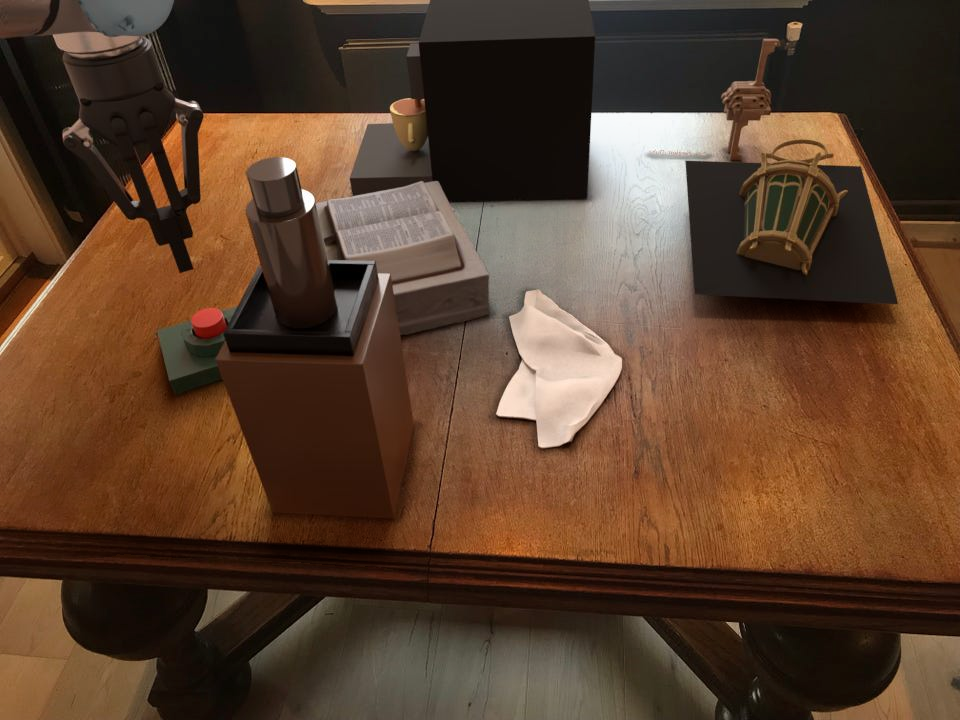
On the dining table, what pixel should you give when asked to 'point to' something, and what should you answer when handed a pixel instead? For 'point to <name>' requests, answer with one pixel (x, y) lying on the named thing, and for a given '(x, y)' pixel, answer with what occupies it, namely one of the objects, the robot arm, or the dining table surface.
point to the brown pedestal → (323, 397)
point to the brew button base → (191, 355)
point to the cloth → (557, 371)
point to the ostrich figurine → (744, 103)
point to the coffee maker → (490, 105)
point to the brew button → (208, 323)
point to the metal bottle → (290, 244)
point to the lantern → (785, 231)
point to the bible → (411, 252)
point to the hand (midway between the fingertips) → (184, 264)
